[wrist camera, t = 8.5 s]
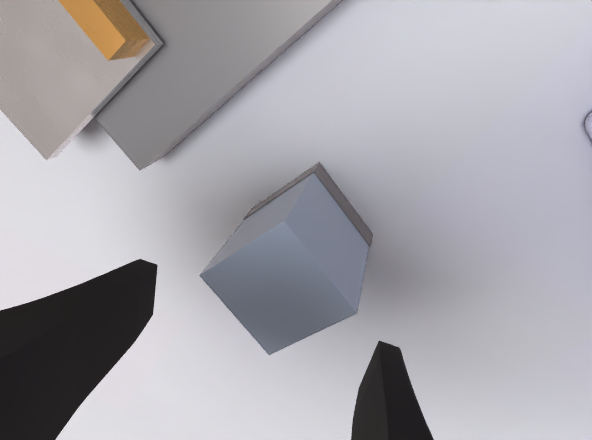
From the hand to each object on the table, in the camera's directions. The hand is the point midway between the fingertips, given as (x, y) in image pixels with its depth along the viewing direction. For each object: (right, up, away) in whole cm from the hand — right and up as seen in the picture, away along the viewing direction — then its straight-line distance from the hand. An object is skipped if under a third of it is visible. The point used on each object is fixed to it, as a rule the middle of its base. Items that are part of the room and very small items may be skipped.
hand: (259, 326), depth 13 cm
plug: (+2, +3, +7) cm, 8 cm away
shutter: (-9, +11, +3) cm, 14 cm away
